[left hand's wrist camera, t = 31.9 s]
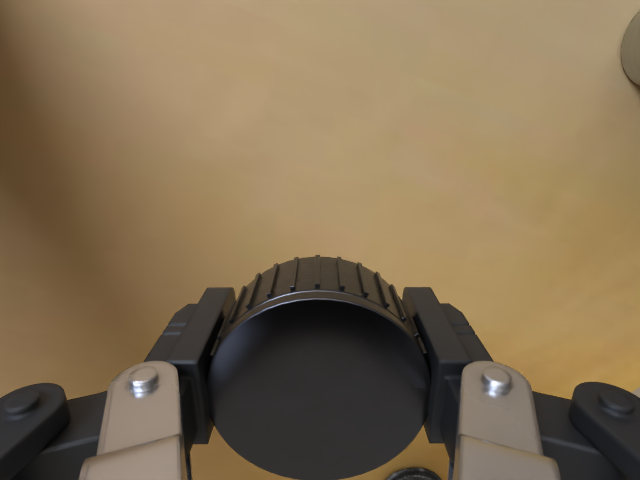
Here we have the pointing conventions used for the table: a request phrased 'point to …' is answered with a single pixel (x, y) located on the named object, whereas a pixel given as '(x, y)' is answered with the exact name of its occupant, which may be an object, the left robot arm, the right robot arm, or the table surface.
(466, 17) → the table surface
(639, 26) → the metal thermos bottle
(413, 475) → the dark chess piece
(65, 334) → the table surface
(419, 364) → the lid
